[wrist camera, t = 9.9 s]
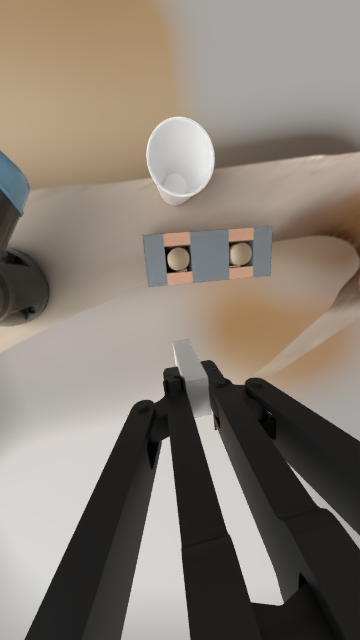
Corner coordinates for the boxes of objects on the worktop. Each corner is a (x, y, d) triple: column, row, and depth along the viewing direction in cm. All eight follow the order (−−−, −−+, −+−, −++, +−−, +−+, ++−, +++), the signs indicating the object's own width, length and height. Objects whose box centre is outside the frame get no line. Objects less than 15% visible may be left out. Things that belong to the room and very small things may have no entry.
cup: (209, 190, 40) (228, 160, 29) (175, 227, 40) (181, 212, 30) (173, 146, 37) (180, 96, 26) (138, 187, 38) (131, 155, 27)
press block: (149, 284, 43) (148, 286, 37) (144, 240, 40) (142, 235, 35) (255, 274, 45) (270, 275, 39) (256, 232, 43) (272, 226, 37)
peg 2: (221, 266, 43) (231, 265, 37) (221, 247, 42) (231, 243, 36) (239, 264, 44) (251, 264, 38) (239, 245, 43) (251, 241, 37)
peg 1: (167, 271, 42) (168, 271, 36) (165, 251, 41) (166, 248, 35) (185, 269, 43) (190, 269, 37) (184, 250, 42) (188, 246, 36)
